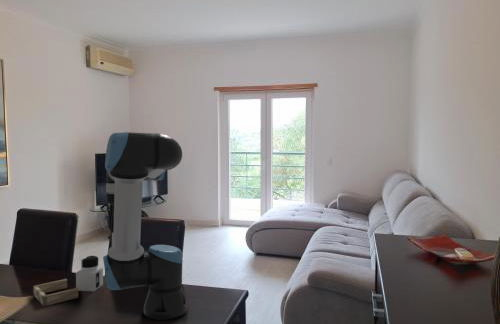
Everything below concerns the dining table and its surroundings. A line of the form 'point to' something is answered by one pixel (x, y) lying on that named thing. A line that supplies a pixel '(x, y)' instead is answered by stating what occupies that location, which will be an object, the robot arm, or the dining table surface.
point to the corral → (55, 297)
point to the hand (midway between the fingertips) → (115, 246)
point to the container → (89, 274)
